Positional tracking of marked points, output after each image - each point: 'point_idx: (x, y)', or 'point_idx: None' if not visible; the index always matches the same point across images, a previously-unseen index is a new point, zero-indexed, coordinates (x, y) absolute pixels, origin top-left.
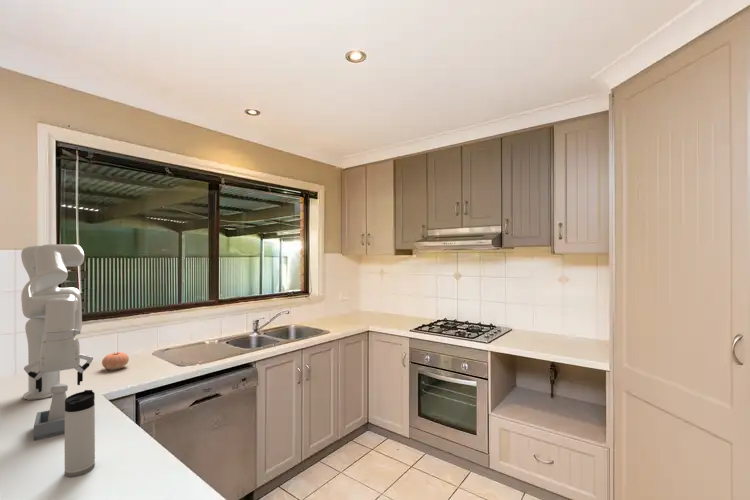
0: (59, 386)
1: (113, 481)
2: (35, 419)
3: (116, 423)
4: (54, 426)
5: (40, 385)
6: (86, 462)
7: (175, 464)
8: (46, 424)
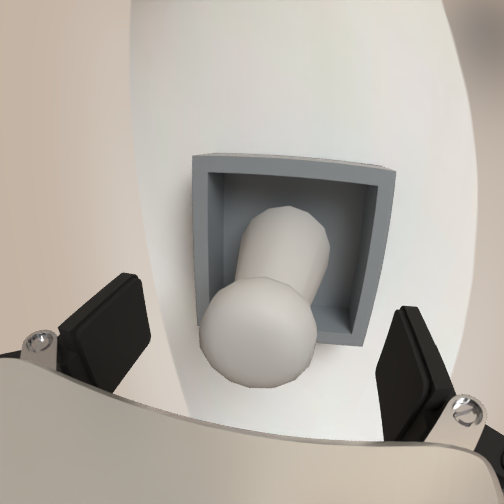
0: (252, 383)
1: None
2: (194, 256)
3: (437, 338)
4: None
5: (123, 371)
6: None
7: None
8: None
